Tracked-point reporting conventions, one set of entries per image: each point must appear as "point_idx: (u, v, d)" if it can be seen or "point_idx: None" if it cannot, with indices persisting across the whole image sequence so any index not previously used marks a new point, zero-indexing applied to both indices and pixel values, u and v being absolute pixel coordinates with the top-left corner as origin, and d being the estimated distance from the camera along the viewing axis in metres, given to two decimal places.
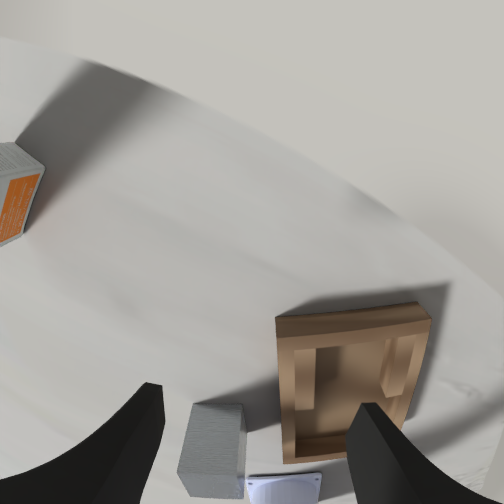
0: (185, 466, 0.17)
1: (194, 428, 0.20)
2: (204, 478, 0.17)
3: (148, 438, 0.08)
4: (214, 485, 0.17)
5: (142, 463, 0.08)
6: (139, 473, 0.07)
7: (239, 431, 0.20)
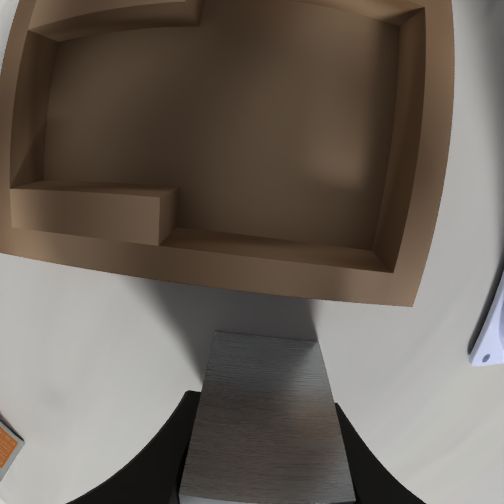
0: None
1: None
2: None
3: None
4: None
5: None
6: None
7: (207, 382, 0.09)
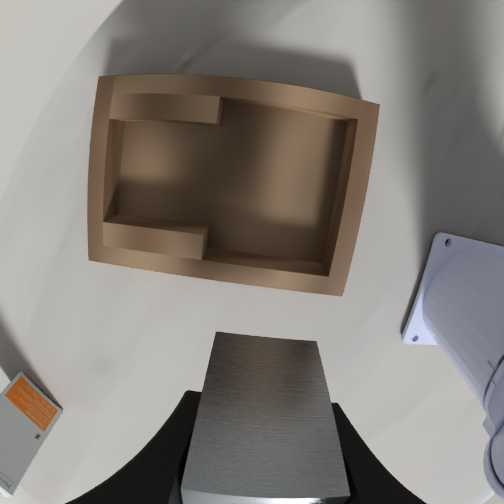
0: None
1: None
2: None
3: None
4: None
5: None
6: None
7: (207, 381, 0.09)
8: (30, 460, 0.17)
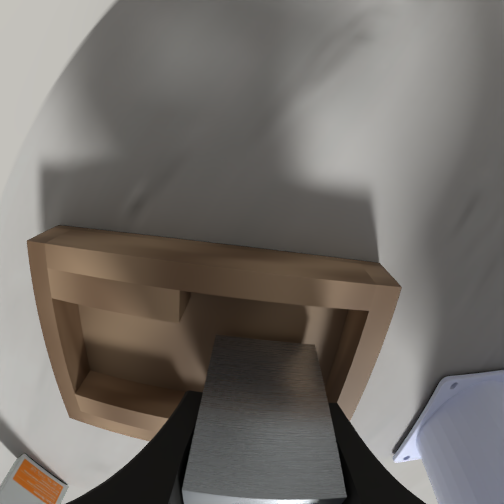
0: None
1: None
2: None
3: None
4: None
5: None
6: None
7: (208, 384, 0.10)
8: None
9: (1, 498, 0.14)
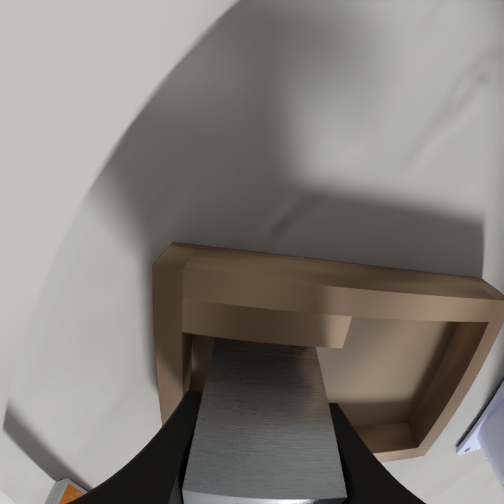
0: None
1: None
2: None
3: None
4: None
5: None
6: None
7: (208, 384, 0.10)
8: None
9: None
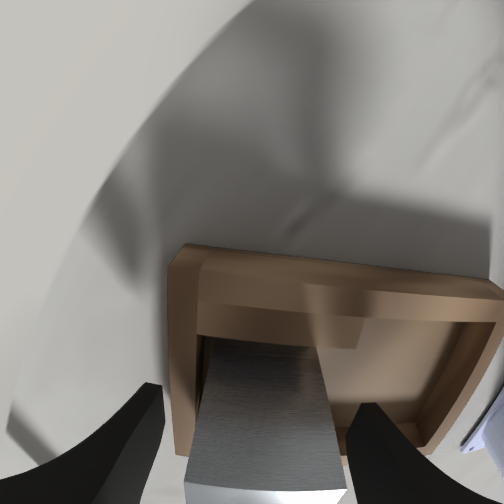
0: None
1: None
2: None
3: (148, 438, 0.08)
4: None
5: (142, 463, 0.08)
6: (139, 473, 0.07)
7: (209, 379, 0.10)
8: None
9: None
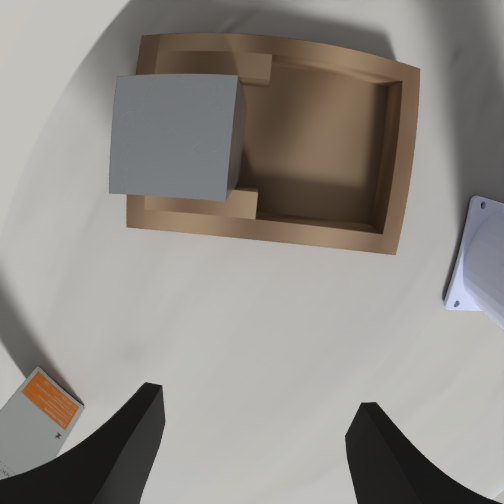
0: None
1: None
2: (126, 140, 0.09)
3: (148, 438, 0.08)
4: (157, 125, 0.09)
5: (142, 463, 0.08)
6: (139, 473, 0.07)
7: None
8: None
9: (4, 413, 0.16)
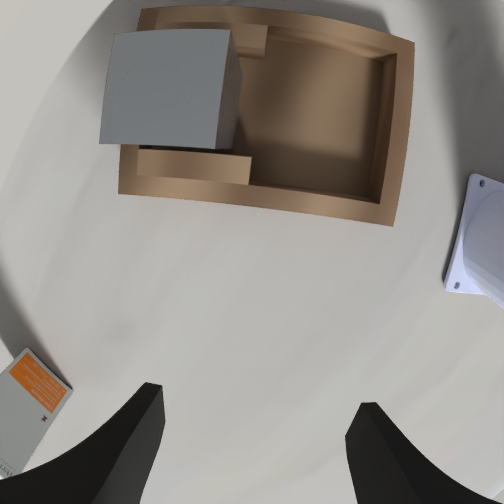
0: None
1: None
2: (119, 92, 0.09)
3: (148, 438, 0.08)
4: (151, 77, 0.08)
5: (142, 463, 0.08)
6: (139, 473, 0.07)
7: None
8: (35, 445, 0.16)
9: None
